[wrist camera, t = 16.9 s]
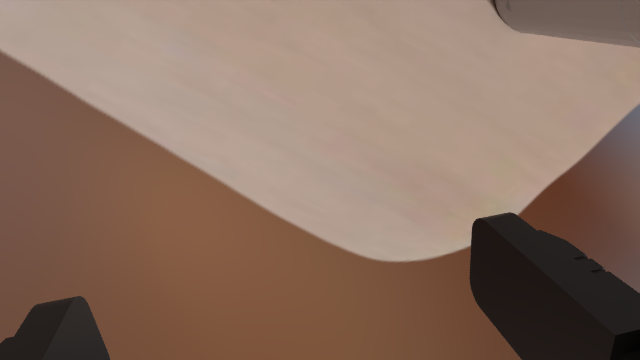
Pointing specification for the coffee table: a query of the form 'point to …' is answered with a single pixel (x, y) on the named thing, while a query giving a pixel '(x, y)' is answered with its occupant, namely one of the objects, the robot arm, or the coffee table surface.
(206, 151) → the coffee table surface
